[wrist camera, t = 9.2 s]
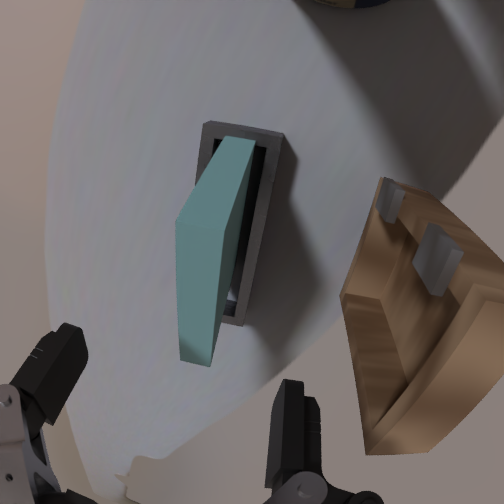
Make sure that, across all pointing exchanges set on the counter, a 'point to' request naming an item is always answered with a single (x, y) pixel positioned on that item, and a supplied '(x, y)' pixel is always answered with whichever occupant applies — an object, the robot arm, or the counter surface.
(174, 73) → the counter surface
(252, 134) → the grey rectangular frame
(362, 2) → the canister
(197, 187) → the door panel
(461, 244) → the cabinet
